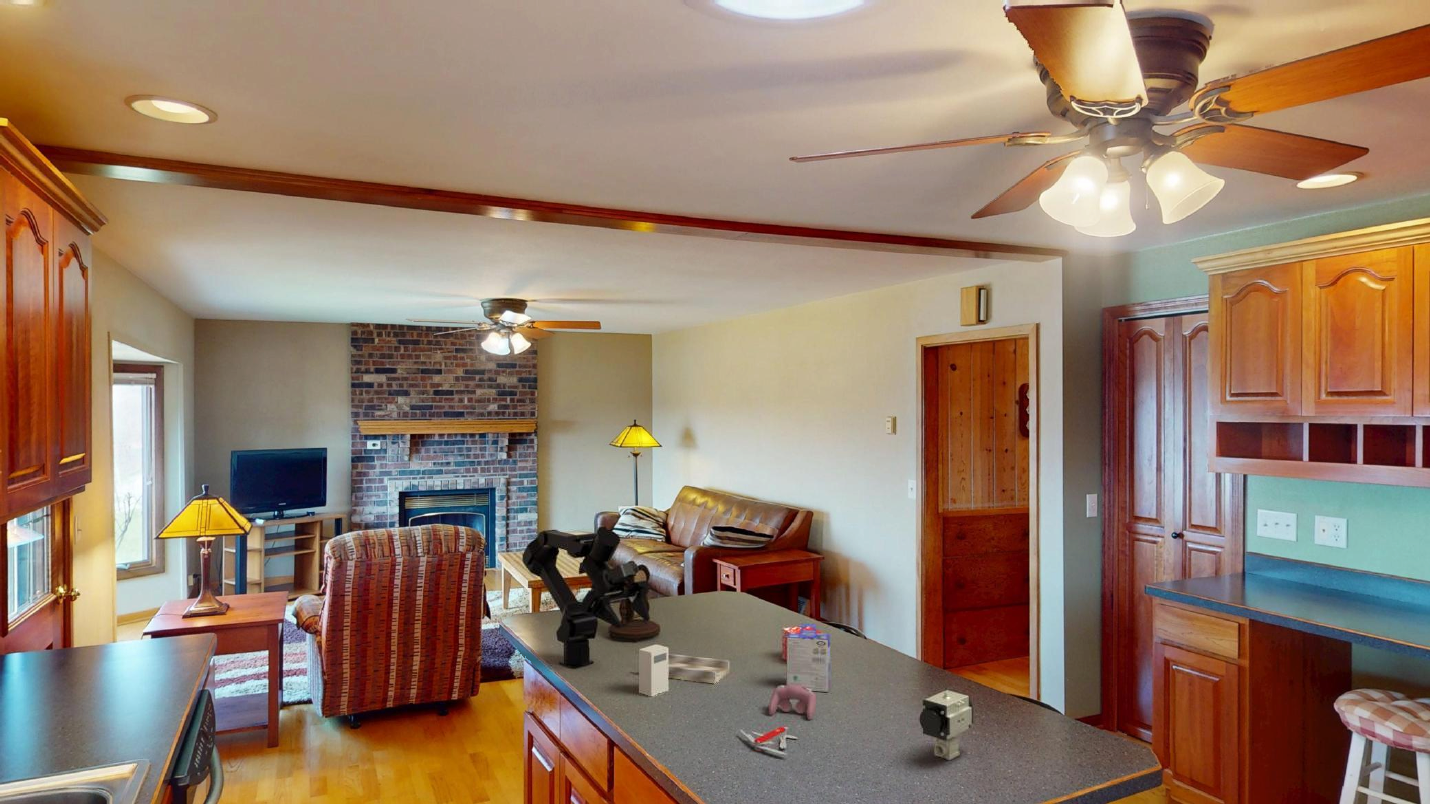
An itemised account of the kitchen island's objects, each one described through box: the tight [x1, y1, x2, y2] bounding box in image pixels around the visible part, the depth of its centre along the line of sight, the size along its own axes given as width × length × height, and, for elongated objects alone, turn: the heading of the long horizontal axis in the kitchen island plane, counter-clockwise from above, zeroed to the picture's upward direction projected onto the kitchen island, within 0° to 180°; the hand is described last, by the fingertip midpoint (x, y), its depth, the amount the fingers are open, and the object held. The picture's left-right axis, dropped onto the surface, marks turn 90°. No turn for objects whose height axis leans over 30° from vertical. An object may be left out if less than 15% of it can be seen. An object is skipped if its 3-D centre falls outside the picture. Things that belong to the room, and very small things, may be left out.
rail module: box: [638, 644, 669, 697], centre depth 192 cm, size 4×6×10 cm
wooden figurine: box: [608, 564, 661, 643], centre depth 240 cm, size 15×15×20 cm
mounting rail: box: [668, 653, 730, 685], centre depth 206 cm, size 20×10×3 cm, turn 69°
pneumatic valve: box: [919, 688, 974, 761], centre depth 157 cm, size 6×12×12 cm, turn 133°
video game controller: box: [768, 684, 817, 721], centre depth 179 cm, size 10×5×7 cm, turn 71°
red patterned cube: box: [781, 626, 824, 662], centre depth 216 cm, size 8×8×8 cm
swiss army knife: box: [739, 726, 799, 756], centre depth 163 cm, size 12×14×2 cm
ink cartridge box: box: [786, 622, 831, 693], centre depth 195 cm, size 10×6×14 cm, turn 78°
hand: (634, 623), depth 197 cm, fingers open, 9 cm apart
